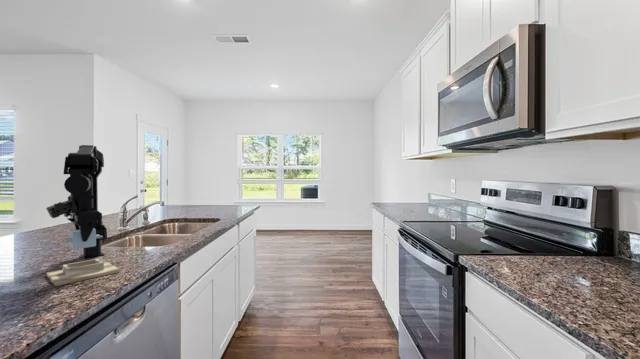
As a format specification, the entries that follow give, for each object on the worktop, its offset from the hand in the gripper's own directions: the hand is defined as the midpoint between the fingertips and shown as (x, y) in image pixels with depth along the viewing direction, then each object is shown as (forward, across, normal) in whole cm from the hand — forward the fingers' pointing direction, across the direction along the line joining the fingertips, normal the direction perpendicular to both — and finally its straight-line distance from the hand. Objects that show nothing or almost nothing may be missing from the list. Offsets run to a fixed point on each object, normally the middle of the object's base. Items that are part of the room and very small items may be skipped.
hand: (82, 240), depth 98 cm
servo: (+2, 0, 0) cm, 2 cm away
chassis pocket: (+11, 0, 0) cm, 11 cm away
